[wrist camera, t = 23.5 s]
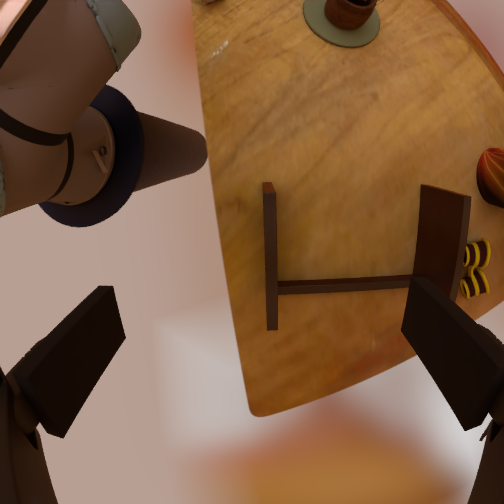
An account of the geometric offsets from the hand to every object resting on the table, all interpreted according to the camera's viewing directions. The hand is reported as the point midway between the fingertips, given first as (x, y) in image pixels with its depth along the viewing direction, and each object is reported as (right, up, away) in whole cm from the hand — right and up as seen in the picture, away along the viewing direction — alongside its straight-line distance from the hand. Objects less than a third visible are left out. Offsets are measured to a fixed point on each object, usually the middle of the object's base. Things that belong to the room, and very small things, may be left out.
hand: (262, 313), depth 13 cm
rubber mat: (+12, +35, +18) cm, 41 cm away
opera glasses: (+36, 0, +29) cm, 46 cm away
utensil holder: (+12, +35, +18) cm, 41 cm away
